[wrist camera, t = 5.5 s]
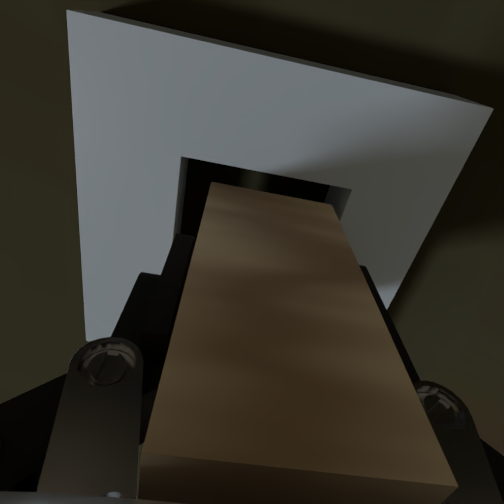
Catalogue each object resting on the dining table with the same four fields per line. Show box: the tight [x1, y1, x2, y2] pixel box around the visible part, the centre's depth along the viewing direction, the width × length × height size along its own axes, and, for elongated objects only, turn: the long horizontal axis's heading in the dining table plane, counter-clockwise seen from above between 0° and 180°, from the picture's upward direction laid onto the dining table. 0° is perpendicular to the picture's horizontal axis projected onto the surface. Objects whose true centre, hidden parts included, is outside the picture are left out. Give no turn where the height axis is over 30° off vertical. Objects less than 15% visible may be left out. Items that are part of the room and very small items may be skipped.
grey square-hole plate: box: [67, 10, 494, 341], centre depth 14 cm, size 12×12×2 cm
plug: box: [138, 182, 458, 504], centre depth 10 cm, size 4×4×9 cm
